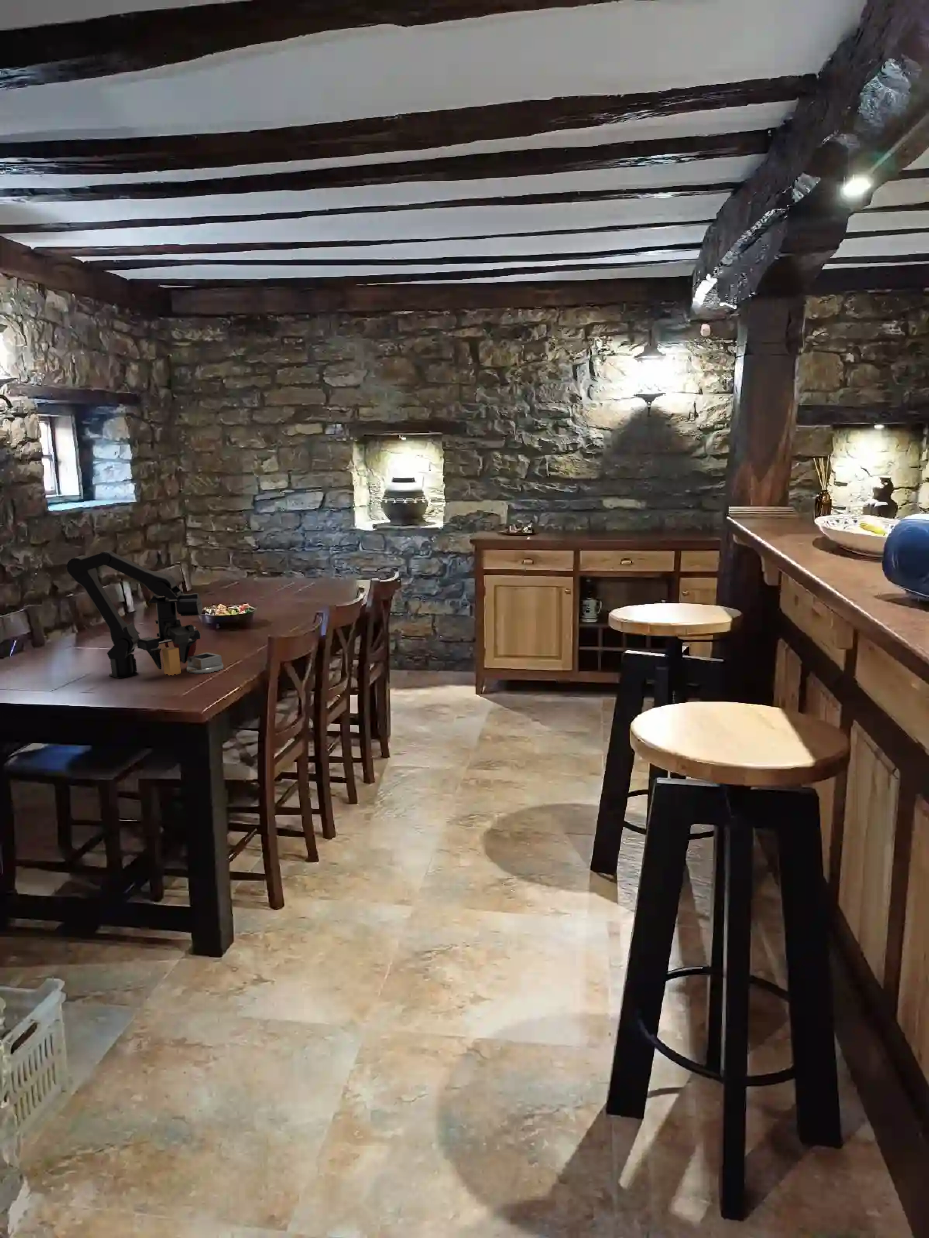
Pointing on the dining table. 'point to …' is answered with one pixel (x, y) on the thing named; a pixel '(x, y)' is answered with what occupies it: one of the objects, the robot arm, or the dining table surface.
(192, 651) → the mug
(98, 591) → the robot arm
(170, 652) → the orange-brown rectangular block
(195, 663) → the silver square frame
